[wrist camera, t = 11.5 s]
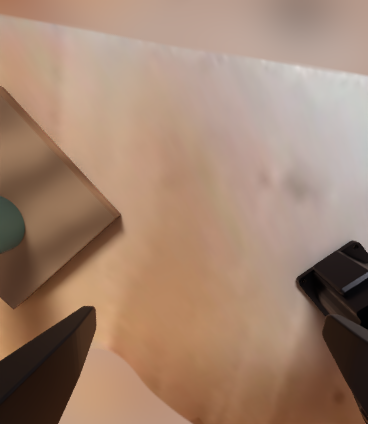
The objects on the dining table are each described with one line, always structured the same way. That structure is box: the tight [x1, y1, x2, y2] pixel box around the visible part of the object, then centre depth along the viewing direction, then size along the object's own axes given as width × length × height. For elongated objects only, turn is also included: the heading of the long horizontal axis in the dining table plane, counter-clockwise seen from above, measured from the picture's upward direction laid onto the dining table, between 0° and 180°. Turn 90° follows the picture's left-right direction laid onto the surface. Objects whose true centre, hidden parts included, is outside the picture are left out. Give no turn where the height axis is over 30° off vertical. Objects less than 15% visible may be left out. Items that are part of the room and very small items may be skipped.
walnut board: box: [0, 86, 121, 309], centre depth 20 cm, size 15×15×2 cm
